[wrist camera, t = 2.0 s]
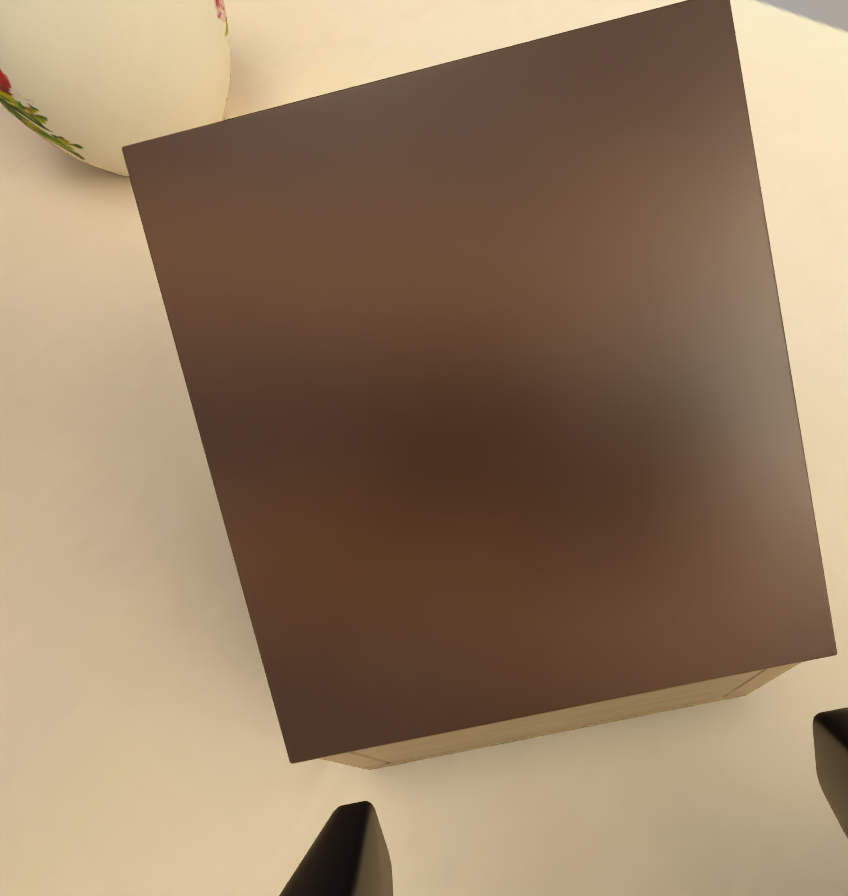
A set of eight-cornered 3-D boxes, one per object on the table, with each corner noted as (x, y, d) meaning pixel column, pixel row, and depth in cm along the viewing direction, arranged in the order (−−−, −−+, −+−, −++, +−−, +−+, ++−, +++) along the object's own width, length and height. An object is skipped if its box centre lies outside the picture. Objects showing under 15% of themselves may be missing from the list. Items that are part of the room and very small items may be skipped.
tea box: (326, 429, 27) (264, 326, 21) (626, 360, 26) (647, 235, 20) (367, 770, 21) (300, 755, 16) (747, 695, 21) (820, 651, 15)
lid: (138, 157, 14) (119, 146, 13) (712, 9, 13) (729, -12, 13) (297, 743, 16) (289, 765, 15) (818, 639, 15) (838, 655, 14)
